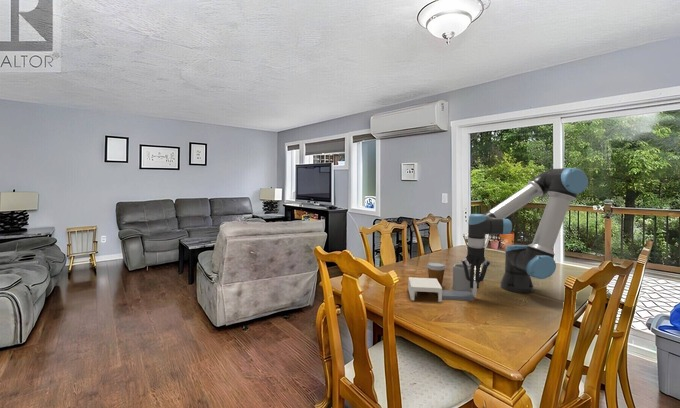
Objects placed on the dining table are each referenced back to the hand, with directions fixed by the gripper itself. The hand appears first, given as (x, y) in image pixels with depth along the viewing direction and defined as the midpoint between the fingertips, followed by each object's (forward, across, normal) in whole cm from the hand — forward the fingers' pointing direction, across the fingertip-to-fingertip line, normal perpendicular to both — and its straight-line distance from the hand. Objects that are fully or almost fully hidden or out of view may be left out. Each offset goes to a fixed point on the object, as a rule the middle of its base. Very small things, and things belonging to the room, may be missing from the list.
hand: (473, 294), depth 153 cm
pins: (+2, +28, 0) cm, 28 cm away
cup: (+2, +2, -13) cm, 13 cm away
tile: (+2, +9, 0) cm, 9 cm away
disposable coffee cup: (+2, +15, -15) cm, 22 cm away
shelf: (+2, +23, 0) cm, 23 cm away
